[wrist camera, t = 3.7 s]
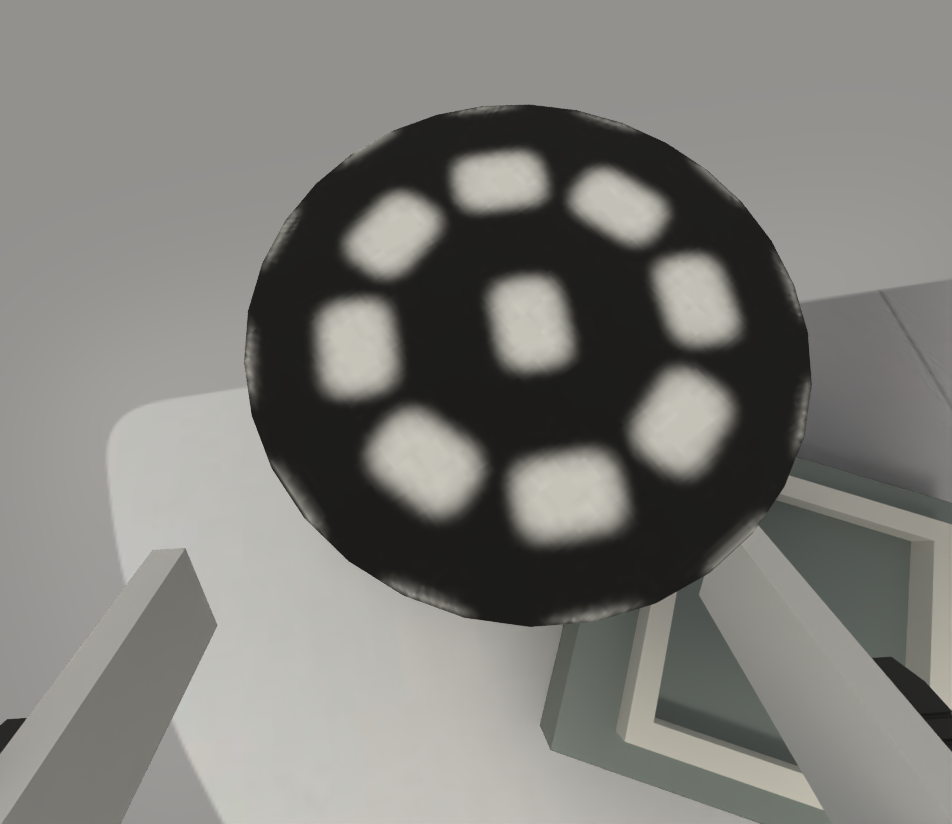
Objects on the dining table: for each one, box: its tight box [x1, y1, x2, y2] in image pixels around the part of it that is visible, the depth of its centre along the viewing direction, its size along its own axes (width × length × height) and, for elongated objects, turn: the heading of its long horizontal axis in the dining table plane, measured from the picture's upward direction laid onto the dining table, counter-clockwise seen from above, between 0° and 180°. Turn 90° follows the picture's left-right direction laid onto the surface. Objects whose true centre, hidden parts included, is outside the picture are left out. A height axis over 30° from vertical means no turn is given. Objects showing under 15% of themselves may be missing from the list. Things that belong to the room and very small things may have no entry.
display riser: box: [540, 457, 952, 824], centre depth 23 cm, size 18×16×4 cm
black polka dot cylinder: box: [244, 105, 812, 627], centre depth 17 cm, size 8×8×20 cm
